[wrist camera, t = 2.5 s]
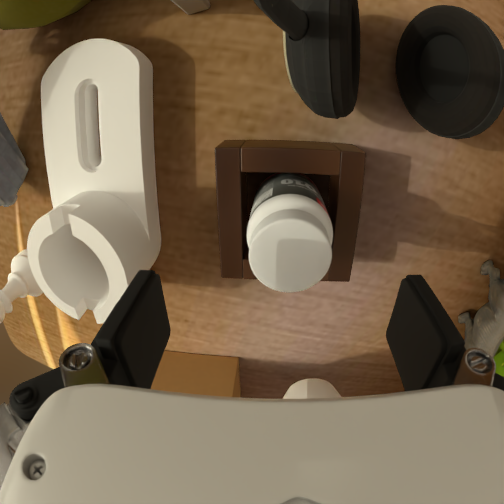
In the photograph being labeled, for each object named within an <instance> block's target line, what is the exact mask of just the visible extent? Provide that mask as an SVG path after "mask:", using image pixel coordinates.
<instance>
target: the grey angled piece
mask: <svg viewBox="0 0 504 504" xmlns="http://www.w3.org/2000/svg"><path fill="white" fill-rule="evenodd" d="M171 1H172V2H173V3H174V4H176V5H177V6H178V7H179V8H180V9H182V10H183V11H184V12H185V13H186V14H189V15H190V14H193V13H196V12H200V11H203V10H206V9H209V8H210V2H209V0H171Z"/></svg>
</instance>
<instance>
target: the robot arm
mask: <svg viewBox="0 0 504 504" xmlns="http://www.w3.org/2000/svg"><path fill="white" fill-rule="evenodd" d="M169 336H170V324H169V320H168V315H167V310H166V306H165V301H164V296H163V291H162V285H161V280H160V276H159V275H158V274H155V271H153V270H139V271H138V272H137V274H136V275H135V277H134V278H133V280H132V281H131V283H130V284H129V286H128V287H127V289H126V290H125V292H124V293H123V295H122V296H121V298H120V300H119V301H118V302H117V303H116V305H115V306H114V308H113V309H112V311H111V312H110V314H109V316H108V317H107V319H106V320H105V322H104V324H103V325H102V327H101V328H100V330H99V332H98V333H97V335H96V337H95V338H94V340H93V342H92V343H91V345H90V344H86V343H79V344H75V345H72V346H70V347H68V348H67V349H66V350H65V351H64V352H63V353H62V354H61V356H60V359H59V366H60V367H58V368H56V369H54V370H51V371H49V372H47V373H44V374H42V375H40V376H37V377H35V378H33V379H30V380H28V381H25V382H23V383H21V384H19V385H18V386H17V387H15V388H14V390H13V391H12V393H11V395H10V403H9V404H8V405H6V404H5V403H3V404H2V405H0V504H504V377H503V376H501V375H499V374H497V373H495V370H496V364H495V361H494V359H493V357H492V356H491V355H490V354H489V353H488V352H486V351H485V350H483V349H480V348H470V349H468V350H466V349H465V347H464V345H465V342H464V340H463V338H462V337H461V335H460V333H459V332H458V330H457V328H456V327H455V325H454V323H453V322H452V320H451V319H450V317H449V315H448V314H447V312H446V311H445V309H444V308H443V306H442V305H441V303H440V302H439V300H438V299H437V297H436V295H435V294H434V293H433V291H432V290H431V288H430V287H429V285H428V284H427V282H426V281H425V279H424V278H423V277H422V276H421V275H407V276H406V278H405V279H403V280H402V281H401V285H400V288H399V292H398V296H397V299H396V302H395V306H394V309H393V312H392V316H391V319H390V322H389V325H388V328H387V332H386V338H387V341H388V344H389V347H390V349H391V352H392V355H393V358H394V360H395V363H396V366H397V369H398V372H399V374H400V377H401V380H402V383H403V386H404V389H405V392H396V393H387V394H378V395H366V396H353V397H336V398H308V399H269V398H240V397H223V396H209V395H198V394H188V393H179V392H169V391H161V390H153V389H150V388H151V386H152V383H153V380H154V377H155V374H156V372H157V369H158V366H159V363H160V361H161V358H162V355H163V353H164V350H165V347H166V345H167V342H168V339H169Z"/></svg>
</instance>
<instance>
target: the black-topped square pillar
mask: <svg viewBox="0 0 504 504" xmlns="http://www.w3.org/2000/svg"><path fill="white" fill-rule="evenodd" d="M150 389H153V390H161V391H169V392H179V393H188V394H198V395H209V396H223V397H240V398H241V390H240V374H239V358H238V357H226V356H213V355H201V354H191V353H181V352H172V351H164V353H163V355H162V358H161V361H160V363H159V366H158V369H157V372H156V374H155V377H154V380H153V383H152V386H151V388H150Z"/></svg>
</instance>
